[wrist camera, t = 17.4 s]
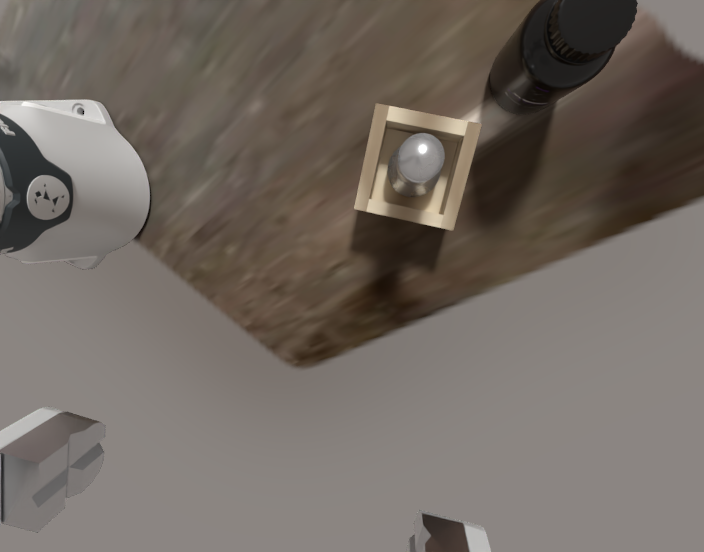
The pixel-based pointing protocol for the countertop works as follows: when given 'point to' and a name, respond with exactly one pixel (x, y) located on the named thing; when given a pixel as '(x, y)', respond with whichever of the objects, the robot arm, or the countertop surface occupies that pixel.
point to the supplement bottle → (558, 51)
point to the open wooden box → (459, 150)
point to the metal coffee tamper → (416, 165)
